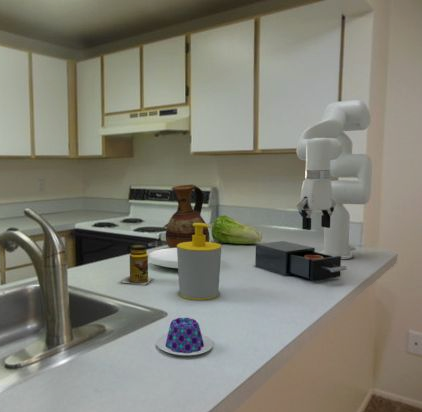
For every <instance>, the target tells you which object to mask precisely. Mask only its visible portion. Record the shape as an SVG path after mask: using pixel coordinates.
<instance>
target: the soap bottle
mask: <svg viewBox="0 0 422 412" xmlns="http://www.w3.org/2000/svg"><path fill="white" fill-rule="evenodd" d="M205 223H206V222H205ZM205 223H194V224H193V226H195V235H192V242H183V243H179V244H178V245H177V258H178V268H177V274H178V286H179V287H178V289H179V291H178V292H179V296H180V297H183V298H185V299H188V300H196V301H206V300H213V299H215V298H217V297H218V296H219V290H220V289H219V287H220V276H221V275H220V274H221V273H220V272H221V260H222V259H221V258H222V257H221V256H222V245H221V243H218V242H211V241H209V242H206V236H205V235H203V227H208V229H212V225H210V224H208V223H206V224H205Z"/></svg>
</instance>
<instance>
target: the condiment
mask: <svg viewBox="0 0 422 412" xmlns="http://www.w3.org/2000/svg"><path fill="white" fill-rule="evenodd" d="M147 248H148V247H147V245H144V244H133V245H131V246H130V254H129V276H127V277H126V278H125V279H124V280H123V281H121V284H132V285H141V286H146V284H148V283H150V281H151V280H152V278H150V277H149V254H148V253H147V252H148V251H147V250H148V249H147Z"/></svg>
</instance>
